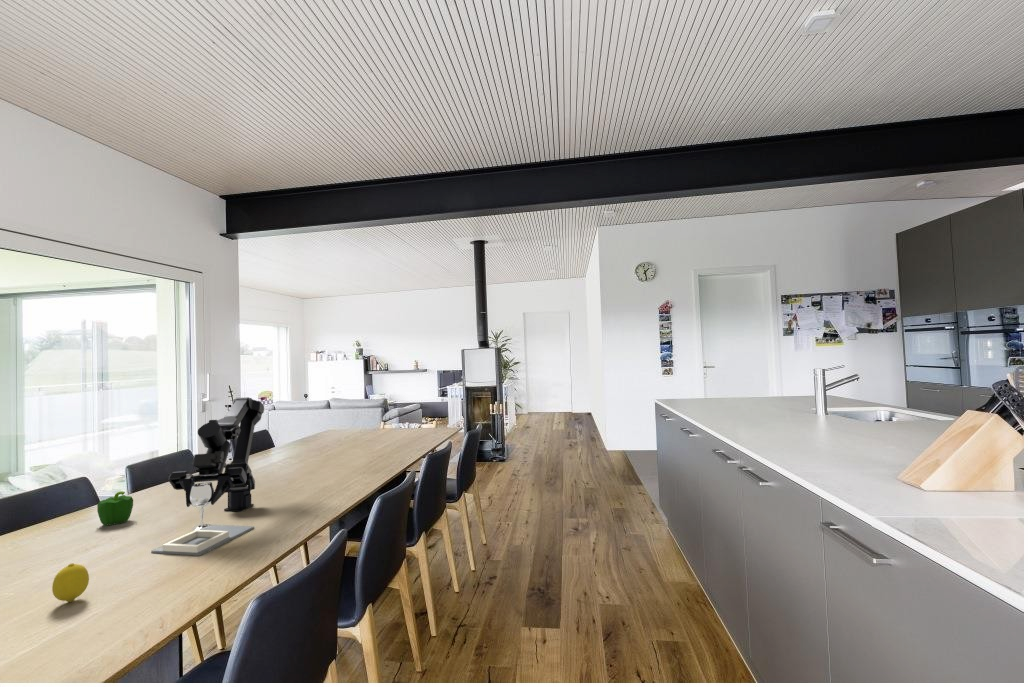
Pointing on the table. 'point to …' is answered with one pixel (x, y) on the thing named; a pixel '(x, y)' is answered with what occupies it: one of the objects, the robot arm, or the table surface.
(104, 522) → the bell pepper
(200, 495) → the wineglass
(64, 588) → the lemon
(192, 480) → the robot arm
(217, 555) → the table surface
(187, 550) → the square frame board
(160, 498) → the table surface
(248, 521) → the table surface
